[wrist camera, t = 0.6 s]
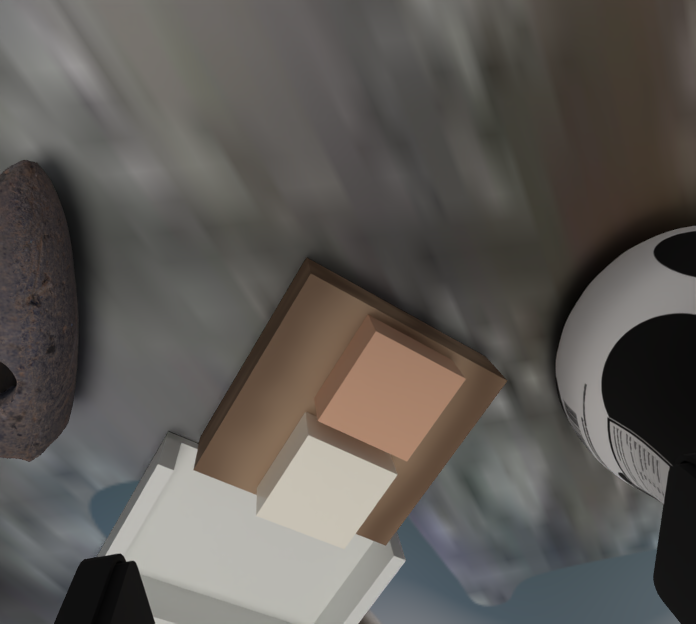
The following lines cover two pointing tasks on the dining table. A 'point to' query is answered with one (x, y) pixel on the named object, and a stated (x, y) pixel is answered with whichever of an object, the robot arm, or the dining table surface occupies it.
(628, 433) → the milk container
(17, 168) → the perforated stone tool
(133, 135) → the dining table surface
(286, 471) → the cream tile
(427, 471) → the brown square slab
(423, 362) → the terracotta tile
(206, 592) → the tray
